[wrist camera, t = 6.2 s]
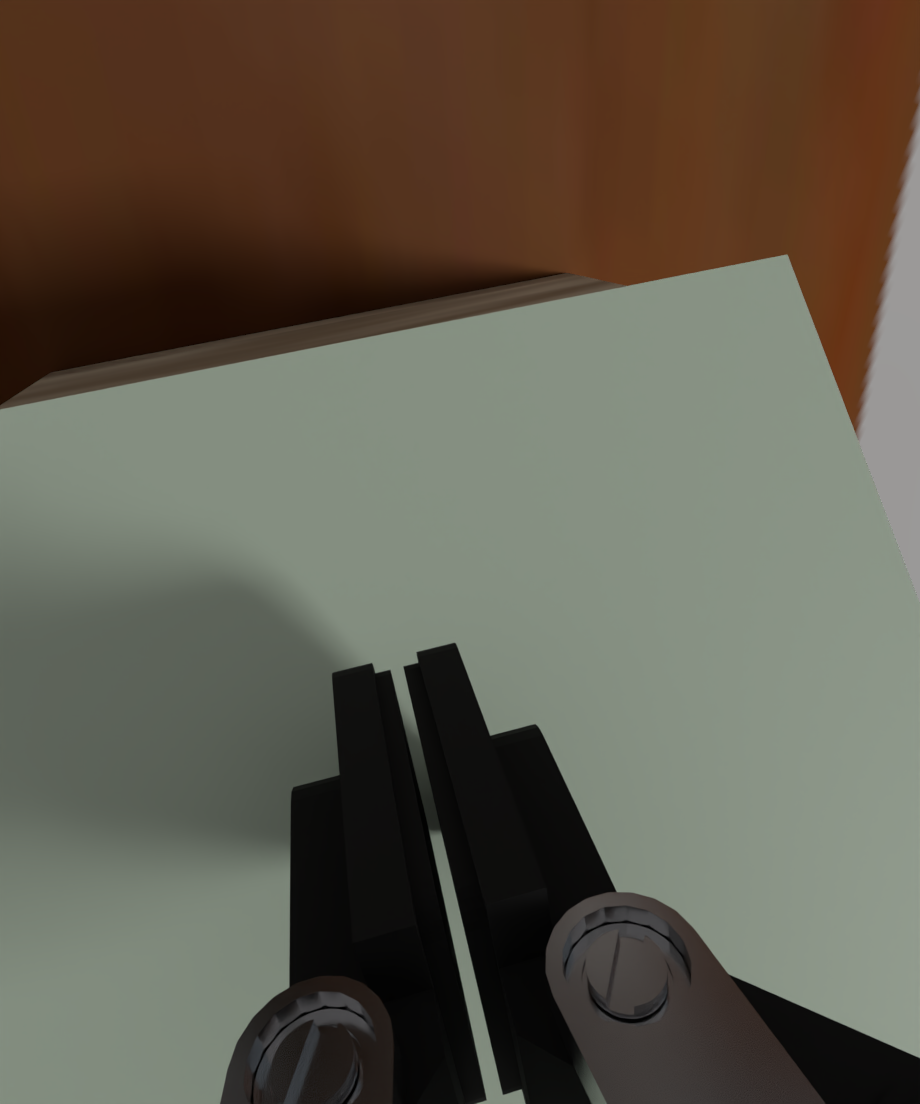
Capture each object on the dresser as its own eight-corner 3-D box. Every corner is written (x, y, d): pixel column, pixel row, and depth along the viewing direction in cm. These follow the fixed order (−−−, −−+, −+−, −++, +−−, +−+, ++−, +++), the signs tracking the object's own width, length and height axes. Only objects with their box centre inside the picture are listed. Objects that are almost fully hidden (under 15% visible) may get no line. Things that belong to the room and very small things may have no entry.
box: (50, 372, 22) (-121, 484, 13) (567, 273, 23) (733, 309, 15) (229, 816, 30) (201, 1075, 21) (605, 716, 31) (728, 915, 23)
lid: (-101, 500, 14) (-229, 448, 11) (726, 329, 16) (792, 247, 13) (40, 1889, 10) (-105, 2340, 7) (1119, 1441, 12) (1335, 1662, 9)
